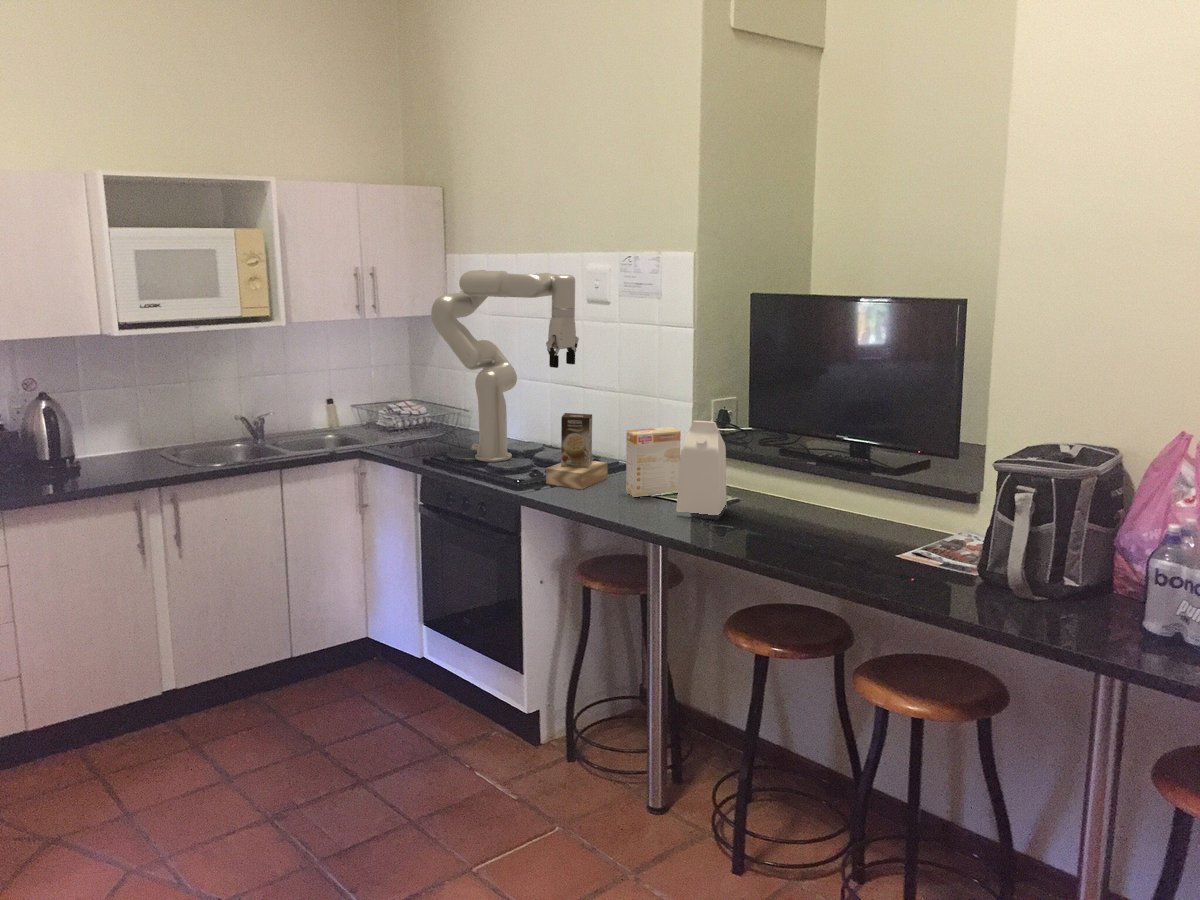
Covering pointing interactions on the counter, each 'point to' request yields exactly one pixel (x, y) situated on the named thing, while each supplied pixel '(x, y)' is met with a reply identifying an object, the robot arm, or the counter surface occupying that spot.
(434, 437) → the counter surface
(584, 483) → the oak block
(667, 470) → the coffeecake box
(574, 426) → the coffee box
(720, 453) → the milk
